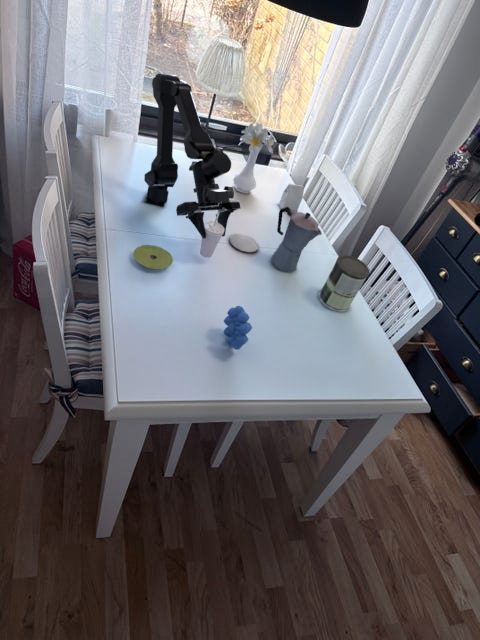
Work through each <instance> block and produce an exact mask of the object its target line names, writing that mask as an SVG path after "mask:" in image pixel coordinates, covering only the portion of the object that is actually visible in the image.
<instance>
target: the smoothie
mask: <svg viewBox="0 0 480 640" xmlns="http://www.w3.org/2000/svg"><path fill="white" fill-rule="evenodd" d="M216 214H217V216H216V215H215V220H205V221H204V227H205V232H206V238H205V239H203V238H202V237H201V241H200V248H199V254H200V256H201V257H203V258H206V259H209V258H211V257H212V256H213V254H214V252H215V250H216V248H217V246H218V244H219V241H220V240H221V238H222V235H223V234H224V230H225V229H224V227H223V226H222V225H221V224H219V223H218V222H217V219H218V216H219V213H218V212H217V213H216Z"/></svg>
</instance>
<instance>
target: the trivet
mask: <svg viewBox="0 0 480 640" xmlns="http://www.w3.org/2000/svg"><path fill="white" fill-rule="evenodd" d="M228 241H229V245H230V246H231V247H232V248H233V249H234V250H236V251H238V252H241V253H243V254H254V253H256V252H258V250H259V243H258V242H257V241H256V240H255V239H254V238H253V237H250V236H248V235H246V234H242V233H235V234H232V235H231V236H230V237H229V239H228Z"/></svg>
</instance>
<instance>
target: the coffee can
mask: <svg viewBox="0 0 480 640" xmlns="http://www.w3.org/2000/svg"><path fill="white" fill-rule="evenodd" d="M369 275H370V268H369V267H368V265H367V264H366V263H365V262H363V261H362V260H360V259H359V258H357V257H355V256H353V255H347V254H342V255H339V256H338V257H337V258H336V261H335V263H334V265H333V267H332V269H331V271H330V272H329V274H328V276H327V278H326V281H325V282H324V284H323V286H322V288H321V289H320V291H319V293H318V299H319V301H320V303H321V304H322V305H324V307H326V308H328V309H329V310H331V311H334V312H339V313H344V312H347V311H348V310H349V309H350V306H351V304H353V301H354V300H355V298H356V296H357V295H358V293H359V291H360V289H361V287H362V286H363V285H364V283H365V281H366V279H367V278H368V276H369Z"/></svg>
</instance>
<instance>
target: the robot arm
mask: <svg viewBox="0 0 480 640" xmlns="http://www.w3.org/2000/svg"><path fill="white" fill-rule="evenodd" d="M151 87H152V95H153V98H154V101H155V102H156V104H157V132H156V133H157V137H156V156H155V157H154V158H153V160H152V161H151V164H150V170H148V171H147V172H146V173H145V174H144V182H145V183H146V185H147V191H146V196H145V200H144V202H145V203H146V204H150V205H154V206H158V207H162V208H163V207H164V208H165V205H166V204H167V202H168V197H169V192H170V189H169V188H174V186H175V184H176V183H177V180H178V179H179V174H178V171H179V165H178V163H176V161H175V160H174V158H173V152H174V150H173V149H174V148H173V147H174V129H175V128H174V125H175V124H174V123H175V109H176V108H177V111H178V114H179V118H180V120H181V123H182V127H183V130H184V139H183V147H184V153H185V155H186V157H187V158H188V159H191V160H198V161H191V165H190V166H189V168H188V171H191V172H192V175H193V181H194V188H193V193H196V199H197V201H196V200H195V201H183V202H182V203H180V204H178V205H177V206H176V209H175V212H176V216H178V217H181V216H182V217H183V216H185V219H188V220H189V221H190V222H191V223H192V225H193V226H194V227H195V229H196V231H197V232H198V234H199V235H200V236H201V239H202V238H203V239H205V238H206V232H205V227H204V222H205V221H204V216H205V215H204V214H205V212H207V211H208V212H209V211H217V213H219V216H218V219H217V222H218V223H219V224H221V225H222V226H223V227H224V229H225V230H224V234H223V235H222V236H221V238H223V237H226V231H227V227H228V221H229V218H230V216H231V215H232V214H233V213H234V212H235V211H238V210H241V209H242V207H241V202H240V201H239V199H236V198H235V199H234V197H235V191H234V186H231V185H225V186H224V187H223V188H220V185H219V184H218V183H216V181H215V179H216V178H219V177H221V176H223V175H225V174H227V173H229V172H230V170H231V168H232V160H231V159H230V157H229V155H228V154H227V153H225V152H224V149H223V148H222V147H215V145H214V143H213V141H212V139H211V137H210V134H209V133H208V132H207V131H206V130H205V129H204V128H203V126H202V124H201V121H200V120H201V119H200V117H199V113H198V110H197V108H196V104H195V102H194V97H193V94H192V90H193V89H192V86H191V84H189V83H188V82H186V81H183V80H182V79H181V80H180V78H179V75H176V74H175V75H174V74H168V73H167V74H166V73H156V75H155V76H154V77H153V78H152V81H151ZM217 213H216V214H215V217H216V216H217Z"/></svg>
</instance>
